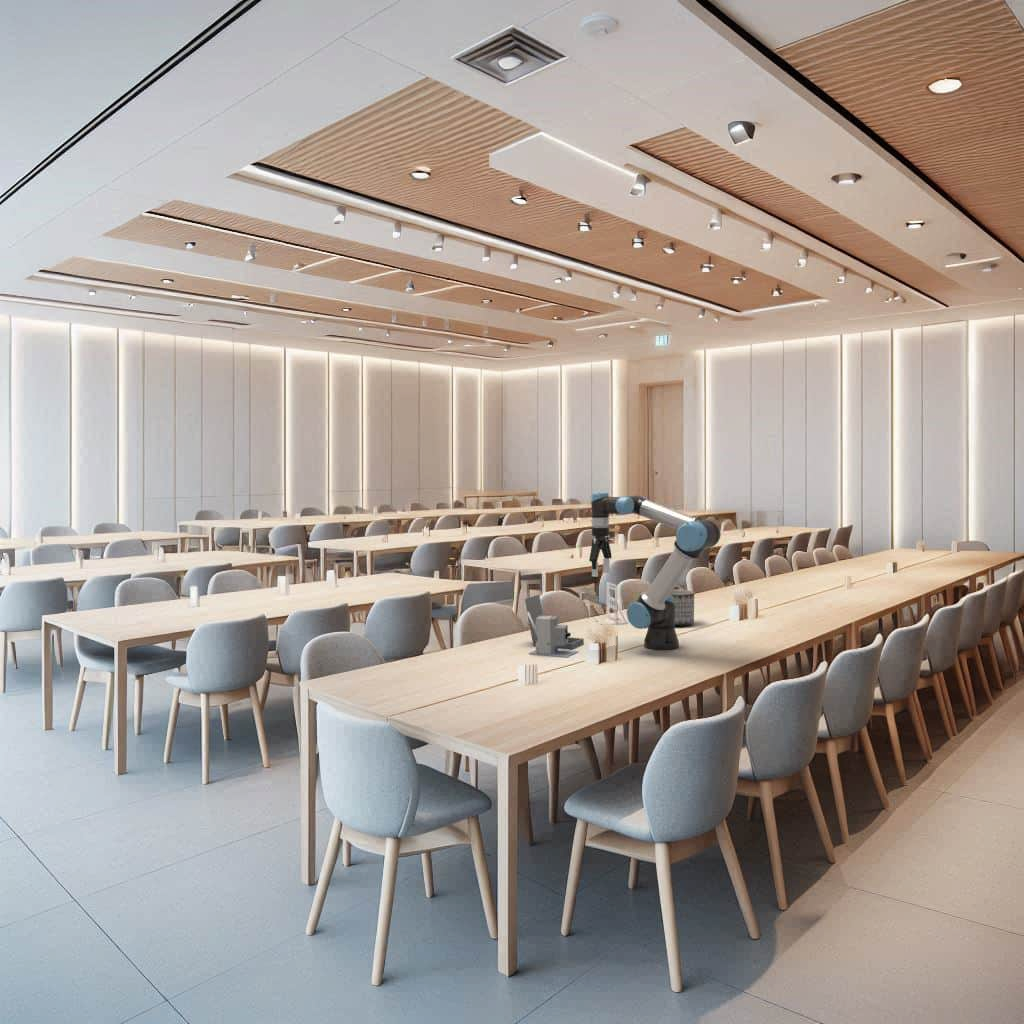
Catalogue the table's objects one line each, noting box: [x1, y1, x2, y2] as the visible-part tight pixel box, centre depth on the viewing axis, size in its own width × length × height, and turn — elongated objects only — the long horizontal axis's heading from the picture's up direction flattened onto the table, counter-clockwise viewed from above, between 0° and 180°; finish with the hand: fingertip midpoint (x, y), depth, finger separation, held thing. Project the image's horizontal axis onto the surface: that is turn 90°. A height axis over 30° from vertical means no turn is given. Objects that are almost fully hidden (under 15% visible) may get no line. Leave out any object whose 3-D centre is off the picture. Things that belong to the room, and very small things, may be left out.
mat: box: [528, 648, 579, 659], centre depth 366 cm, size 18×12×1 cm, turn 62°
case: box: [524, 594, 585, 651], centre depth 383 cm, size 23×14×21 cm, turn 62°
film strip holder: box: [605, 581, 629, 626], centre depth 437 cm, size 14×14×20 cm
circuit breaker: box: [535, 615, 571, 654], centre depth 366 cm, size 8×14×15 cm, turn 76°
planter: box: [670, 588, 695, 628], centre depth 427 cm, size 19×19×16 cm
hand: (600, 574), depth 379 cm, fingers open, 13 cm apart
